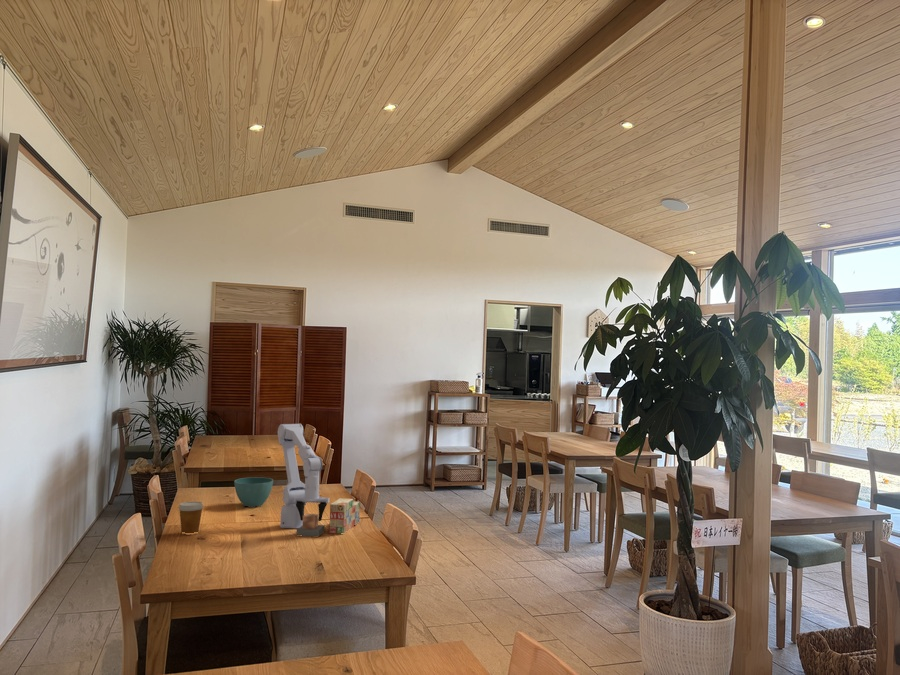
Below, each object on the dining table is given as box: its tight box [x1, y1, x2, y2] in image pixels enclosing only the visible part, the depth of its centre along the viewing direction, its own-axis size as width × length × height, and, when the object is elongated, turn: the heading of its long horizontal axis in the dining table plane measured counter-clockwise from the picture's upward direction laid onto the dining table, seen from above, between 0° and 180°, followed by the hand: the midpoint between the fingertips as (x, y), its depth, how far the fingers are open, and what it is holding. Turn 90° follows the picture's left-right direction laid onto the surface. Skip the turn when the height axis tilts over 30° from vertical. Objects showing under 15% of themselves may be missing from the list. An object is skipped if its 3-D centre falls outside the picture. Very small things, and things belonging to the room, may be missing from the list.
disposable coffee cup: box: [178, 501, 204, 533], centre depth 271 cm, size 10×10×12 cm
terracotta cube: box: [302, 513, 319, 529], centre depth 274 cm, size 5×5×5 cm
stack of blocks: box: [328, 497, 360, 534], centre depth 285 cm, size 21×6×12 cm, turn 170°
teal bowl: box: [233, 476, 274, 508], centre depth 327 cm, size 18×18×12 cm
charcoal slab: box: [296, 524, 326, 537], centre depth 274 cm, size 9×9×3 cm
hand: (311, 520), depth 275 cm, fingers open, 7 cm apart
